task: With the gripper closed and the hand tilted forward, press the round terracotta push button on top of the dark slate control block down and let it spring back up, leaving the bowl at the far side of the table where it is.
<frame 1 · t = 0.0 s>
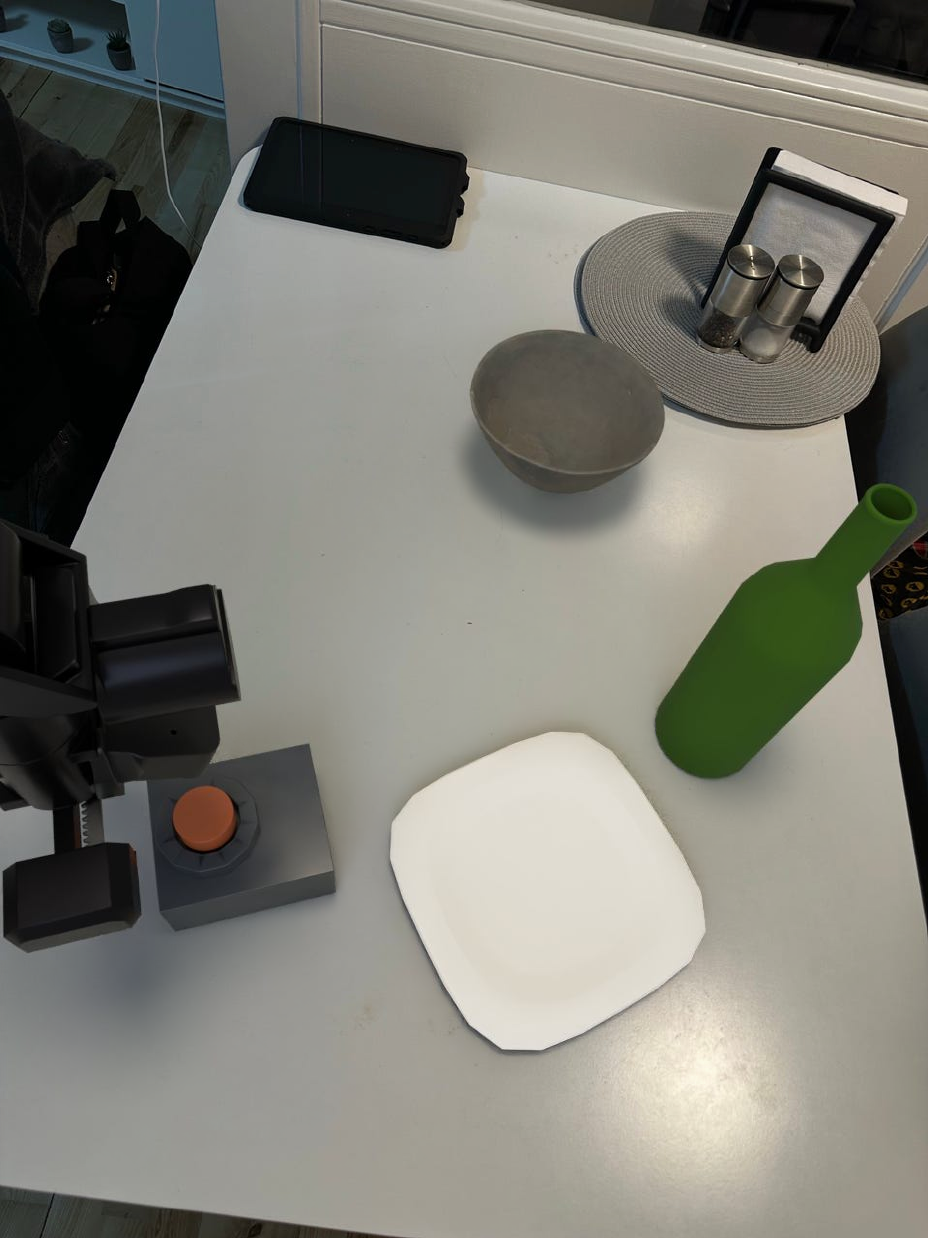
hand: (103, 814, 56), 13 cm above the table, tool pointing down, fingers open, 9 cm apart
bowl: (548, 467, 93), on the table
button: (205, 818, 61), point 9 cm above the table, slide at 0.1 cm
wine bottle: (702, 733, 78), on the table
control block: (247, 848, 69), on the table
plate: (543, 881, 70), on the table
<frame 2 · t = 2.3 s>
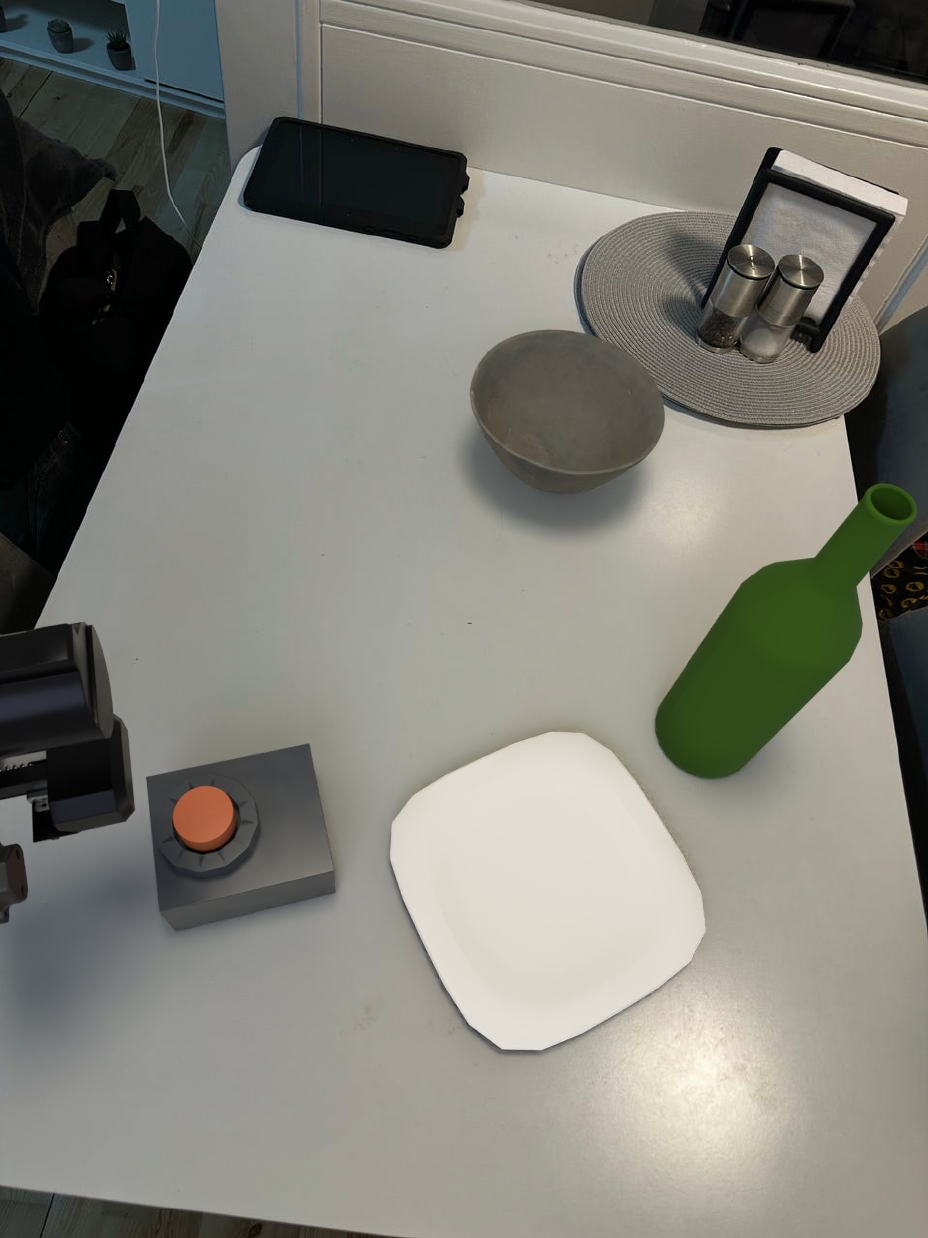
hand: (2, 844, 55), 12 cm above the table, tool pointing down, fingers open, 6 cm apart
nothing on the table moved.
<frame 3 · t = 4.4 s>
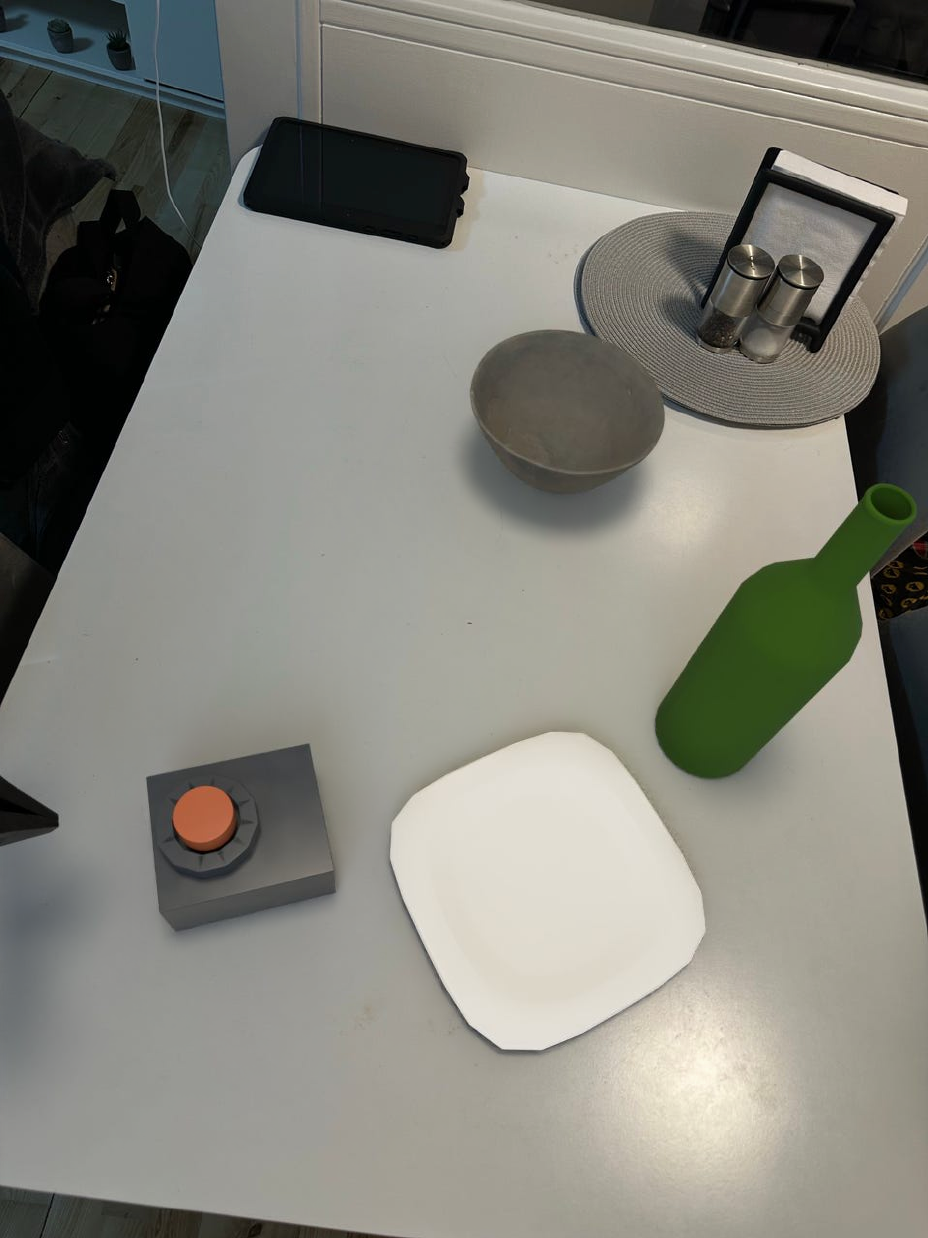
hand: (55, 823, 55), 14 cm above the table, tool tilted 45°, fingers closed
nothing on the table moved.
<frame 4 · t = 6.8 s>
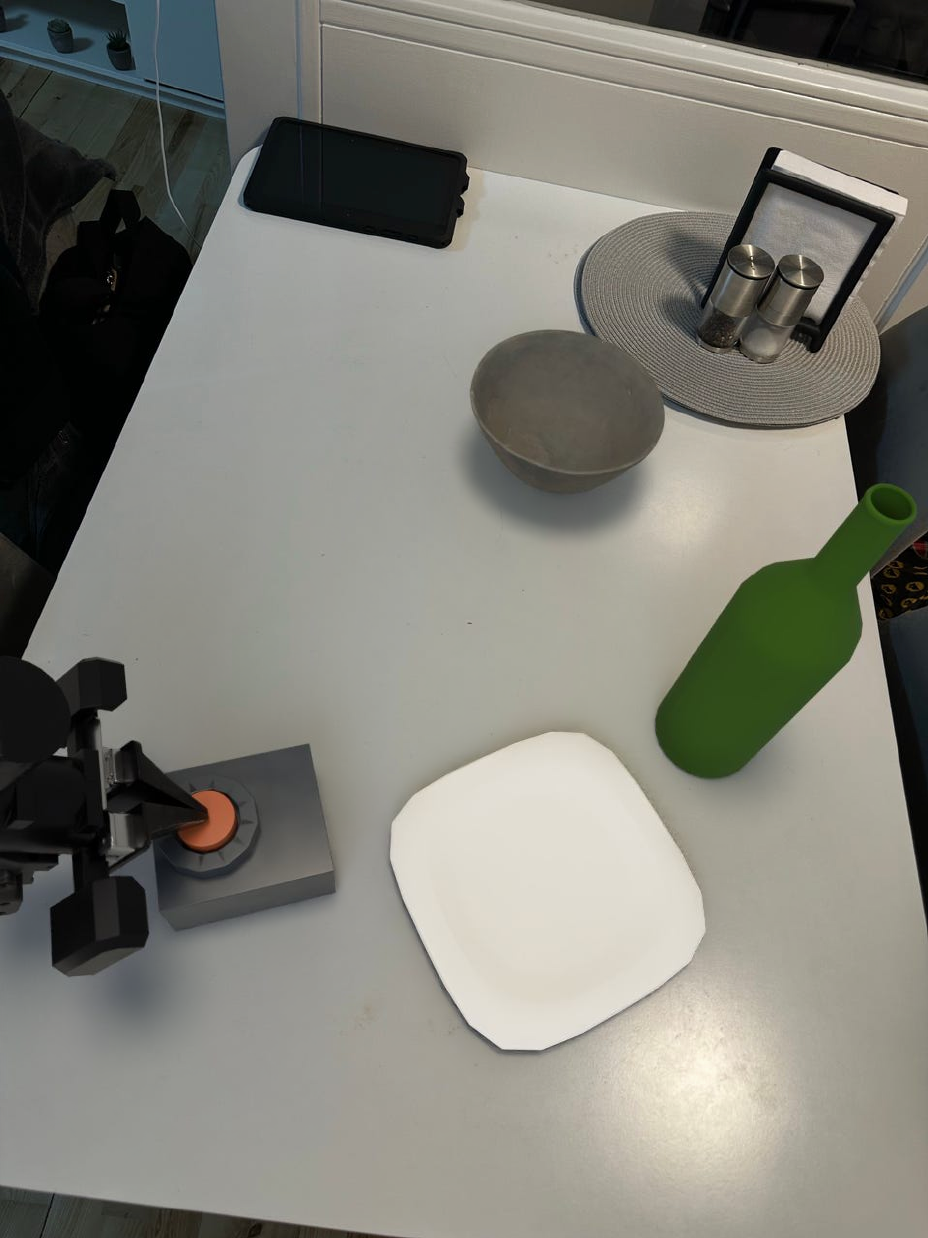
hand: (204, 816, 61), 9 cm above the table, tool tilted 45°, fingers closed, pressing on button
button: (207, 822, 62), point 8 cm above the table, slide at -0.9 cm, touching gripper
everything else where it was.
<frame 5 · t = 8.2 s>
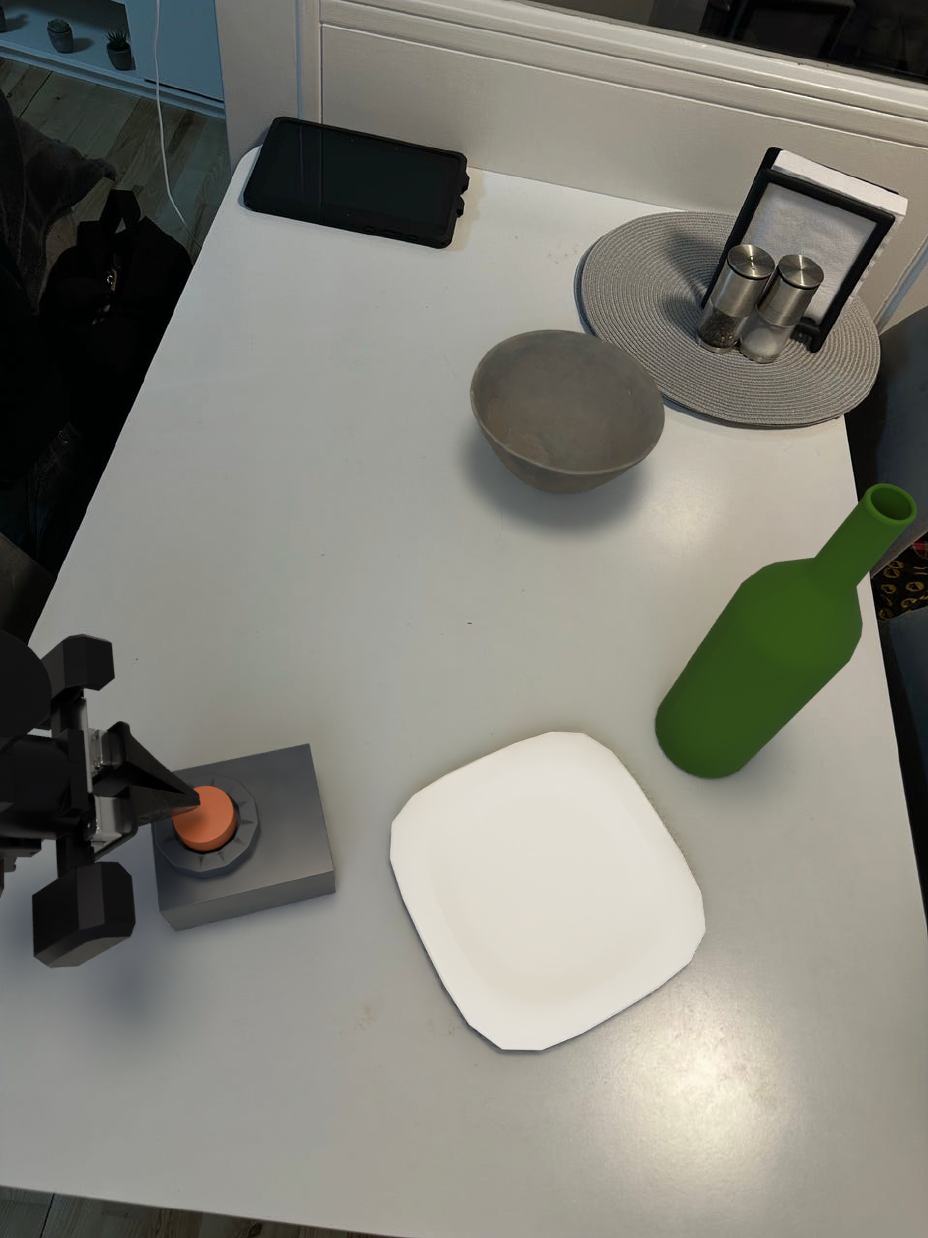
hand: (196, 802, 58), 12 cm above the table, tool tilted 45°, fingers closed
button: (205, 818, 61), point 9 cm above the table, slide at 0.1 cm
everything else where it was.
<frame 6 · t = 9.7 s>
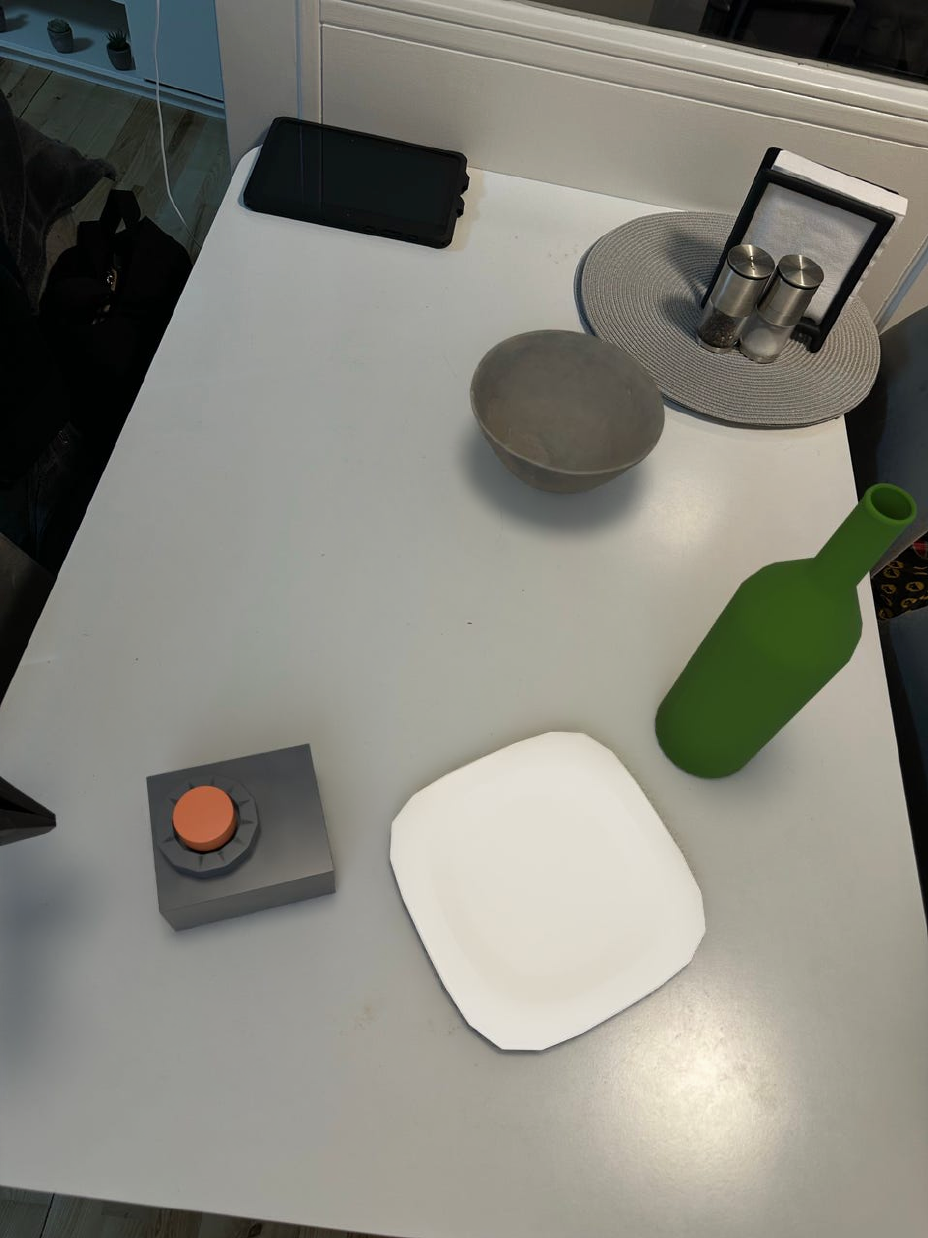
hand: (52, 823, 55), 14 cm above the table, tool tilted 45°, fingers closed
nothing on the table moved.
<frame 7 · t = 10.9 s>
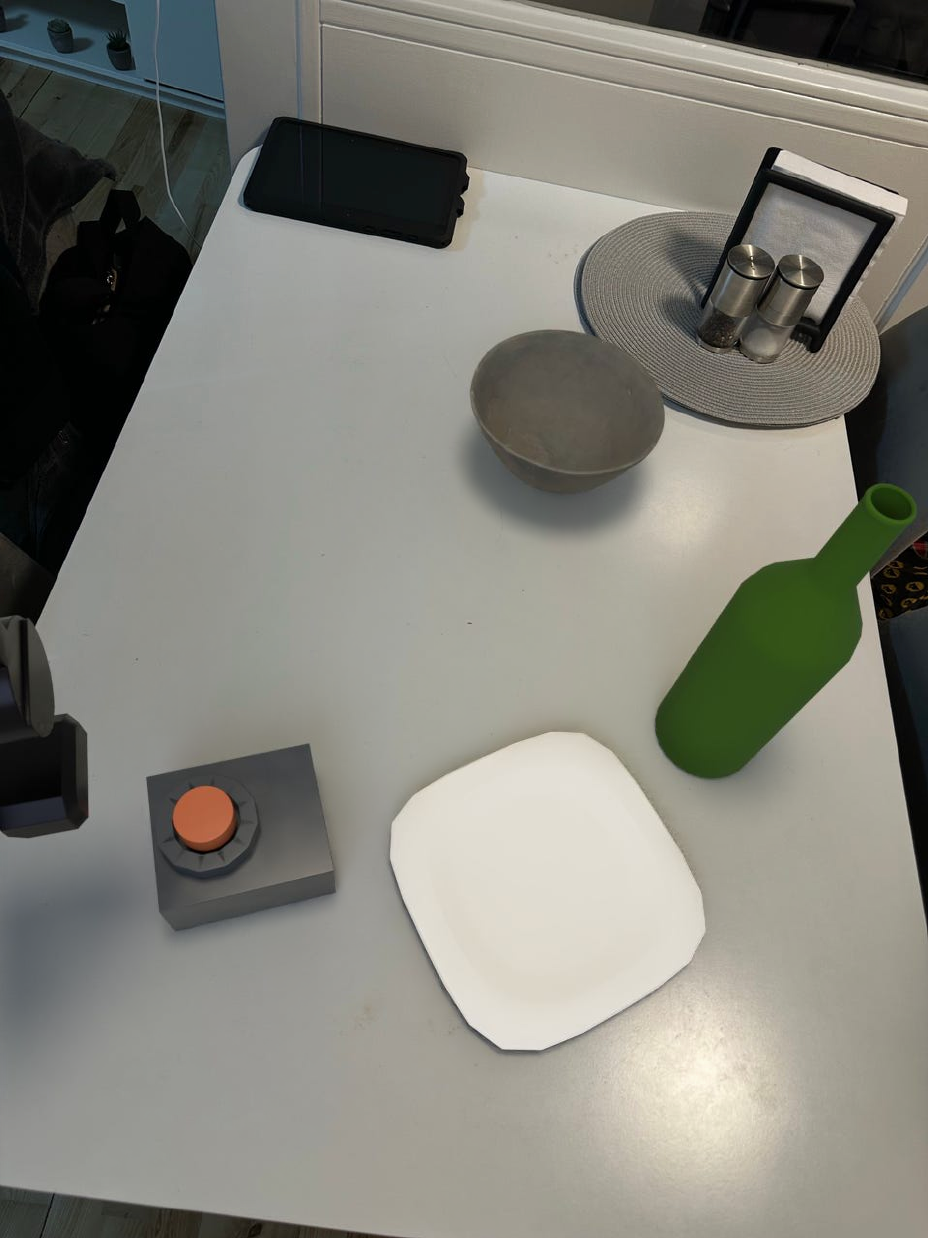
nothing on the table moved.
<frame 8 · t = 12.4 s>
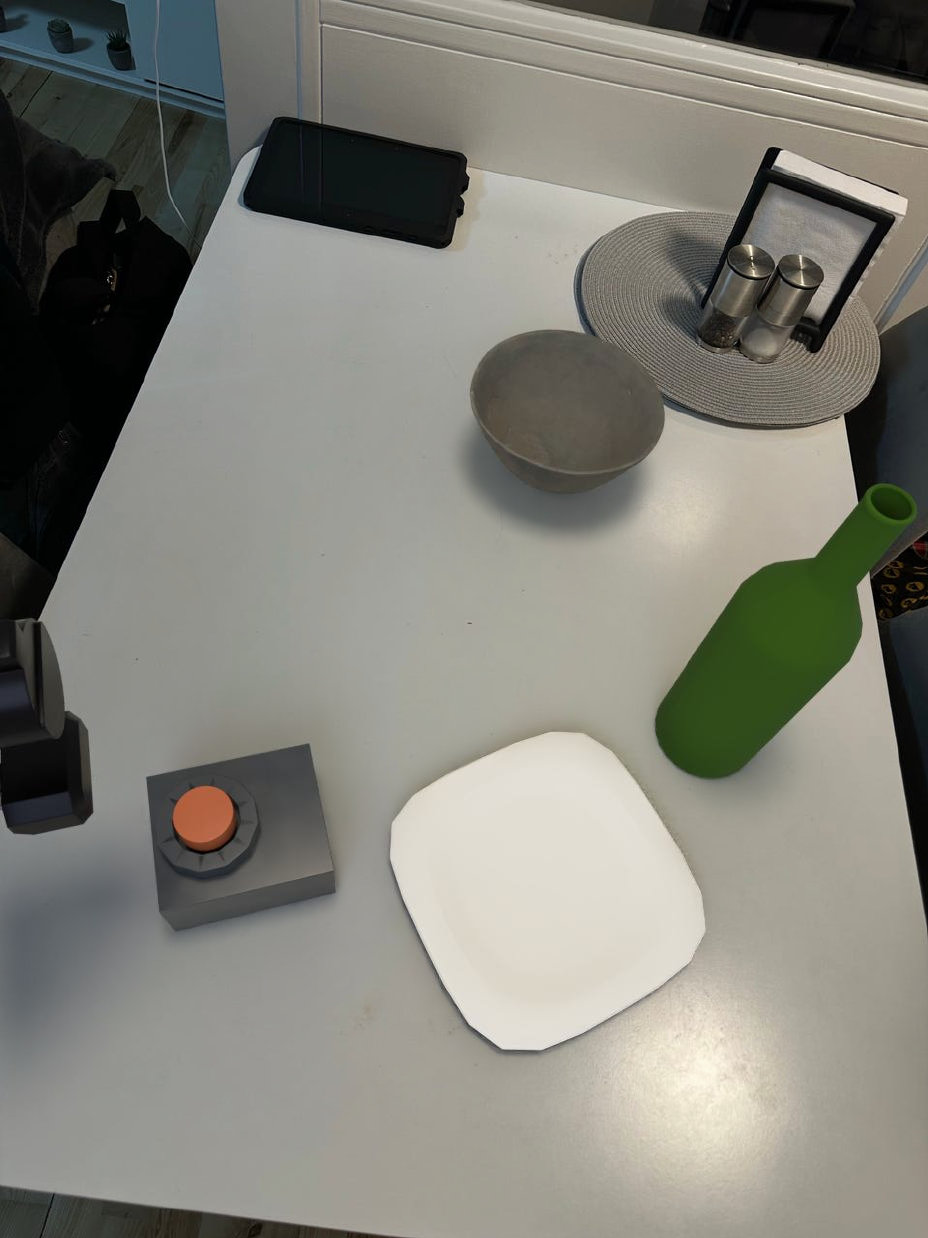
nothing on the table moved.
at the end: button pushed in 1.2 cm at the most during the clip, back to where it started at the end; button slide at 0.1 cm; bowl moved 0.2 cm from its start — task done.
